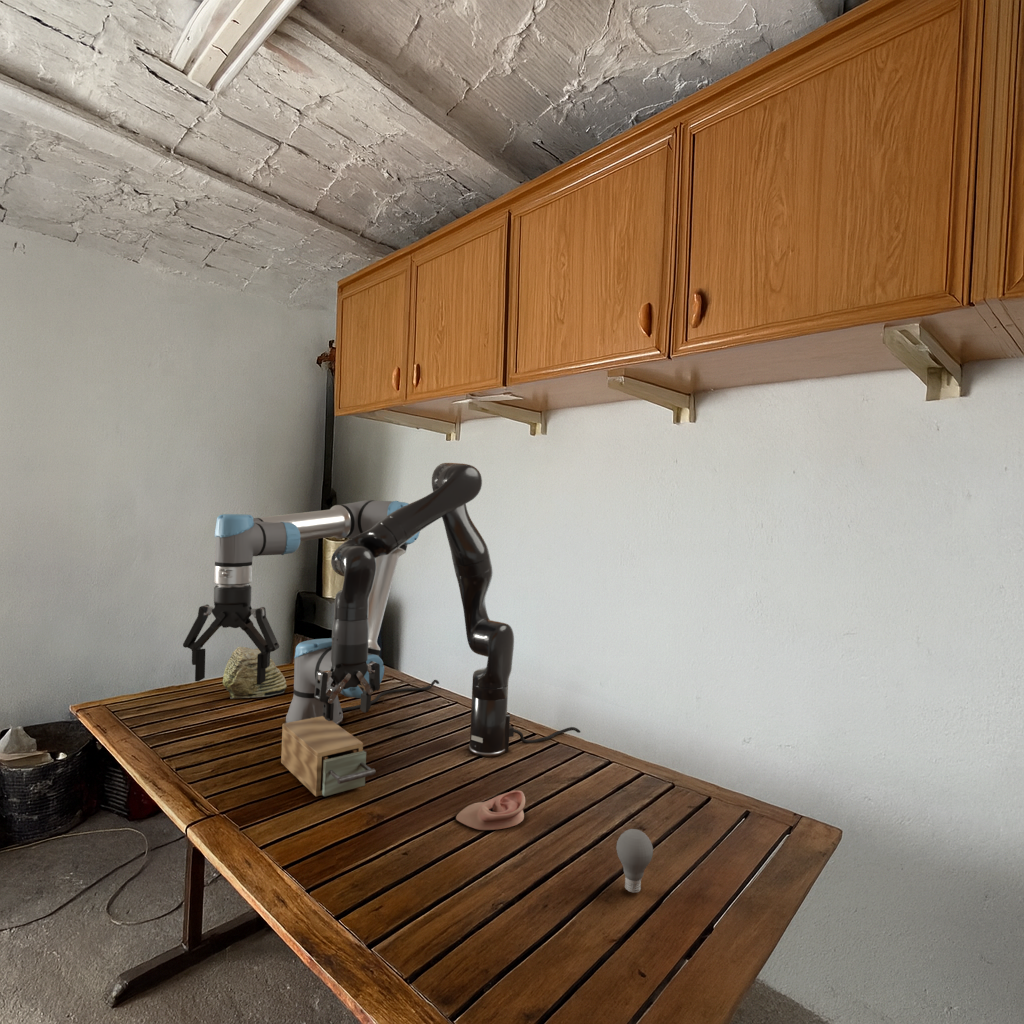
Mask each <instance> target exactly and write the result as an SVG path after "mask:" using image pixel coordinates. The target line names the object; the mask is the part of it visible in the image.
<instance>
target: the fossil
mask: <svg viewBox="0 0 1024 1024" xmlns="http://www.w3.org/2000/svg"><path fill="white" fill-rule="evenodd" d="M259 653H261V651H260V650H259V649H258V648H257V647H256V648H251V647H247V646H246V647H245V646H238V647H237V648H236V649H235V650H233V651H232V653H231V656H230V657H229V659H228V660H227V663H226V666H225V668H224V671H223V675H222V676H223V677H222V685H223V687H224V688H225V690H226V691H228V693H229V698H230V699H250V698H264V697H271V696H275V695H281V694H284V693H285V691H286V689H287V687H288V686H287V680H286V678H285V676H284V674H283V673H282V672H281V669H279V668H278V667H277V665H276V663H275V662H274V660H273V659H272V658H271V657H270V665H269V667H267V668H266V676H265V681H264V682H263V683H261V684H257V658H258V654H259Z"/></svg>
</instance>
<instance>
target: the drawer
mask: <svg viewBox="0 0 1024 1024" xmlns="http://www.w3.org/2000/svg"><path fill="white" fill-rule="evenodd" d="M374 775H376V769H375V768H371V767H370V766H369V765H367V751H365V750H363V751H360V752H357V750H355V749H353V750H349V751H344V752H340V753H336V754H331V755H327V756H323V757H322V767H321V787H322V795H321V796H323V797H325V798H326V797H329V796H332V795H335V794H340V793H343V792H346V791H351V790H353V789H357V788H360V787H361V788H362V787H364V786H366V778H367V777H371V776H374Z"/></svg>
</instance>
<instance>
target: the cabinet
mask: <svg viewBox="0 0 1024 1024" xmlns="http://www.w3.org/2000/svg"><path fill="white" fill-rule="evenodd" d="M281 728H282V729H281V731H282V732H281V753H280V755H281V757H280V763H281V765H283V766H284V767H285V769H286V770H288V771H289V772H290V773H291V774H292V775H293V776H294V777H295V778H296V779H297V780H298V781H299V782H300V783H301V784H302V785H303V786H304V787H305V788H306V789H308V791H309V792H310V793H311V794H312V795H313V796H315V797H317V798H318V797H320V796H323V795H322V787H321V767H322V757H323V756H327V755H331V754H336V753H340V752H344V751H349V750H353V749H355V750H357V752H360V751H364V742H363V741H361V740H360V739H358V738H357V737H355V736H354V735H353V734H351V733H350V732H348V731H347V730H346V729H344V727H343V728H342V727H341V726H340V725H337V724H336V723H334V722H333V721H328V720H326V719H325V717H323V716H320V717H315V718H310V719H305V720H299V721H294V722H289V723H286V722H284V723H282V727H281Z"/></svg>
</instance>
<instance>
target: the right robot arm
mask: <svg viewBox="0 0 1024 1024" xmlns="http://www.w3.org/2000/svg"><path fill="white" fill-rule="evenodd" d="M482 487H483V477H482V474H481V472H480V470H479V469H478V468H476V467H475V466H474V465H471V464H467V463H458V462H442V463H439V464H438V465H437V466H436V467H435V469H434V470H433V472H432V475H431V488H432V492H431V493H429V494H427V495H426V496H424V497H422V498H420V499H418V500H415V501H412V502H410V503H409V504H408V505H406V506H404V507H402V508H400V509H398V510H396V511H394V512H392V513H391V514H389V515H388V516H387V517H385V518H384V519H383V520H381V521H380V522H379V523H377V524H376V525H375V526H373V527H372V528H371V529H369V530H367V531H365V532H363V533H361V534H359V535H357V536H355V537H353V538H349V539H348V540H346V541H344V542H343V543H342V544H340V545H339V546H338V547H337V548H336V549H335V550H334V552H333V554H332V555H331V558H330V565H331V568H332V570H333V571H334V572H335V573H336V574H337V575H338V576H341V577H344V578H343V584H342V589H340V590H339V591H337V592H336V594H335V598H334V608H333V609H334V611H333V622H332V623H333V624H332V629H331V638H332V649H331V662H332V667H331V669H330V671H321V670H318V671H317V674H316V684H315V694H314V698H315V699H317V700H319V701H321V702H323V717H325V719H326V720H328V721H332V720H333V709H334V703H332V702H333V701H334V699H335V698H336V696H337V695H338V696H339V695H341V694H340V692H341V691H342V689H348V688H350V687H357V686H359V688H360V689H361V690H362V692H363V693H362V694H361V698H360V705H361V708H359V709H360V711H361V712H363V713H364V714H365V713H369V711H370V709H371V706H372V704H371V701H372V694H373V693H374V692H377V691H379V690H380V689H381V683H380V665H379V664H378V663H376V662H373V661H371V662H370V663H369V664H367V663H366V661H367V660H368V640H369V624H368V611H369V596H370V593H371V590H372V586H373V582H374V578H375V574H376V560H375V558H377V557H379V556H382V555H388V554H390V553H392V552H393V551H395V550H396V549H397V548H399V547H400V546H401V545H403V544H404V543H405V542H406V541H408V540H409V539H410V538H411V537H413V536H414V535H415V534H417V533H418V532H420V533H421V531H423V530H424V529H425V528H427V527H428V526H430V525H431V524H433V523H434V522H436V521H438V520H440V519H442V522H443V525H444V529H445V534H446V538H447V542H448V546H449V550H450V555H451V560H452V564H453V569H454V573H455V578H456V581H457V585H458V588H459V592H460V600H461V604H462V609H463V616H464V625H465V632H466V639H467V644H468V647H469V648H470V650H471V652H473V653H475V654H476V655H479V656H482V657H486V658H487V662H486V667H482V668H477V669H476V670H475V671H473V673H472V685H471V708H470V709H471V710H470V731H469V733H470V734H469V745H468V750H469V751H470V753H472V754H473V755H476V756H479V757H487V758H490V757H491V758H493V757H498V756H502V755H503V754H505V753H509V752H510V751H509V750H510V749H509V748H510V738H512V737H514V734H517V735H518V736H519V738H520V741H521V742H522V743H524V744H536V743H540V742H544V741H549V740H550V739H551V740H552V738H554V737H556V736H558V735H563V734H564V733H567V732H570V731H573V732H576V733H578V734H580V733H581V730H580V729H579V728H577V727H576V726H575V727H574V726H570V727H566V728H562V729H559V730H557V731H555V732H552V734H549V735H547V736H543V737H538V738H535V739H525V738H524V734H523V733H522V732H521V731H520V730H518V729H515V728H514V726H512V725H511V715H510V713H508V702H509V700H508V699H509V697H508V696H509V682H510V681H509V680H510V676H511V673H512V669H513V660H514V649H515V634H514V630H513V628H512V626H511V625H510V624H508V623H506V622H501V621H498V620H492V619H490V617H489V614H488V611H487V606H486V598H487V593H488V591H489V588H490V586H491V583H492V579H493V575H494V572H493V571H494V569H493V565H492V560H491V555H490V551H489V547H488V545H487V543H486V541H485V539H484V538H483V536H482V534H481V533H480V531H479V529H478V528H477V527H476V525H475V523H474V522H473V521H472V518H471V516H470V514H469V511H468V507H467V504H468V503H469V502H471V501H473V500H474V499H476V497H478V495H479V494H480V492H481V490H482ZM367 671H368V672H369V683H368V682H367V681H366V679H365V678H364V676H365V674H366V672H367ZM330 677H331V678H332V680H331V682H330V683H329V685H328V687H327V682H328V681H329V678H330ZM335 685H337V687H336V688H335ZM326 689H327V691H326Z"/></svg>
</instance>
